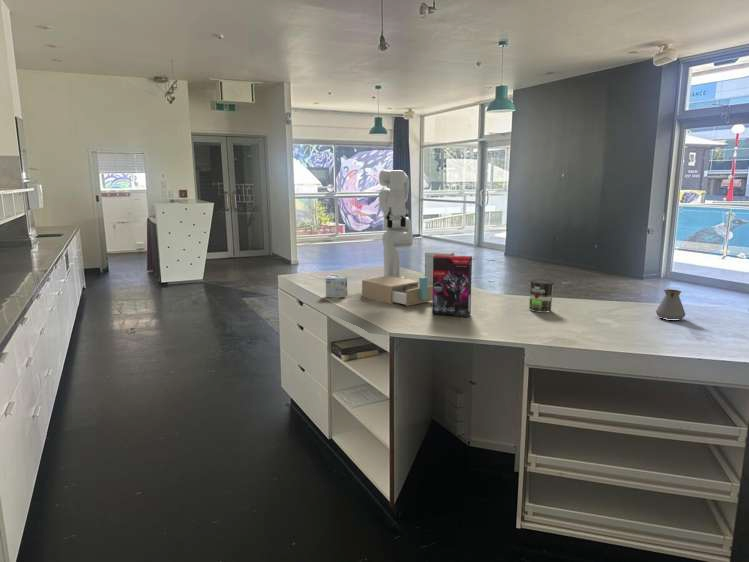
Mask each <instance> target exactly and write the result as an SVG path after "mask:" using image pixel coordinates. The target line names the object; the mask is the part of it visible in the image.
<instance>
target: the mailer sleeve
mask: <svg viewBox="0 0 749 562" xmlns="http://www.w3.org/2000/svg"><path fill="white" fill-rule="evenodd" d="M405 285H411V286H416V287H419V281H418V280H413V279H408V278H406V279H404V278H399V277H394V276H384V275H383V276H377V277H374V278H367V279H362V280H361V297H362V296H363V297H362V298H365V297H366V298H365V299H369V298H370V299H369V300H374V301H377V302H382V303H385V304H388V305H394V304H398V303H397V302H393V301H392V288H394V287H399V286H405Z"/></svg>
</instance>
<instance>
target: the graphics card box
mask: <svg viewBox="0 0 749 562" xmlns="http://www.w3.org/2000/svg"><path fill="white" fill-rule="evenodd" d="M472 266H473V256H472V255H455V254H454V255H435V256H434V257H433V301H432V306H431V307H432V308H431V309H432V310H431V312H432V315H437V314H438V316H440V315H441V316H451V317H452V316H453V317H463V318H468V317H469V316H470V315H471V308H472V272H473V271H472V270H473V269H472V268H473V267H472Z"/></svg>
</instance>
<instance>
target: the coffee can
mask: <svg viewBox="0 0 749 562" xmlns="http://www.w3.org/2000/svg"><path fill="white" fill-rule="evenodd" d="M553 294H554V281H552V280H549V279H542V278H541V279H531V280H530V292H529V306H528V310H529V309H530V310H533V311H539V312H547V311H551V312H552V306H553ZM530 310H529V311H530Z"/></svg>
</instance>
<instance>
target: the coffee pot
mask: <svg viewBox="0 0 749 562" xmlns="http://www.w3.org/2000/svg"><path fill="white" fill-rule="evenodd" d="M663 291H664V293H665V295H664V297H663V299H662V300H661V301H660V304H659V306H658V307H657V309H656V310H655V313H656V315H657V317H659V318H660V317H662V318H667V319H680V320H682V319H684V318H685V316H686V312H685V310H684V309H685V308H684V305H683V304H682V301H681V297H680V296H681V295H680V294H681V293H682V291H681V290H679V289H678V290H677V289H669V288H668V289H664V290H663Z"/></svg>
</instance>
